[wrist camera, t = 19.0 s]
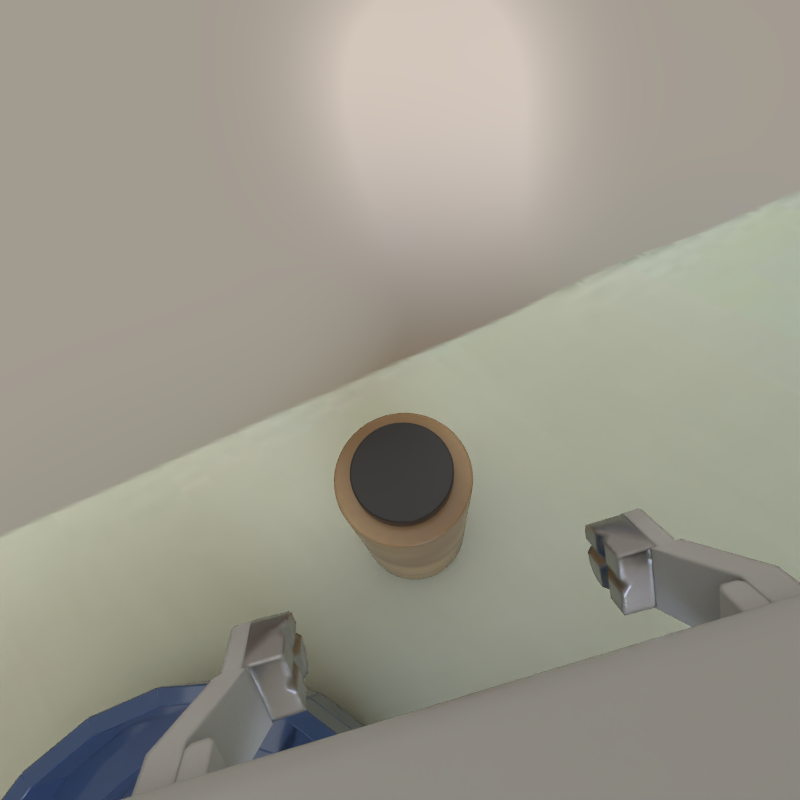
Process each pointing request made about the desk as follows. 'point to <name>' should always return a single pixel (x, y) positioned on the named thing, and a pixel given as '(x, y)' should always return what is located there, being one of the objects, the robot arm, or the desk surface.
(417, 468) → the pepper mill
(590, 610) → the desk surface
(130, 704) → the bowl
